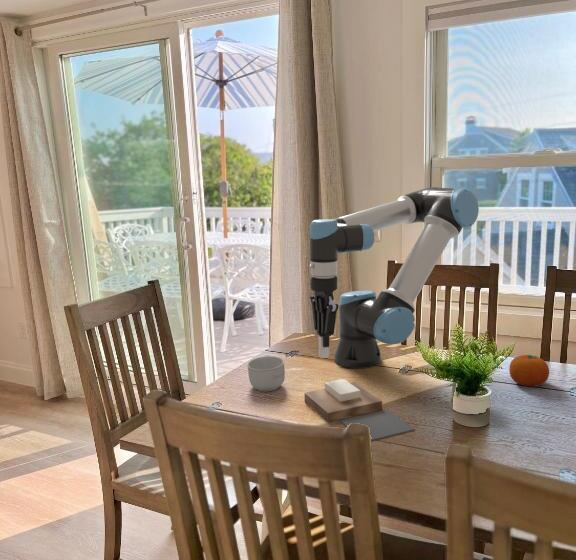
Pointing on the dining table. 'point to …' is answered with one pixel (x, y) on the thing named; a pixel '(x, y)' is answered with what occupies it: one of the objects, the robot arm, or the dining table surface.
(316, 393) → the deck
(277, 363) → the teacup
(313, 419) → the dining table surface
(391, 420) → the mat
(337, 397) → the white rectangular block
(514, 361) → the fruit
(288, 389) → the dining table surface
